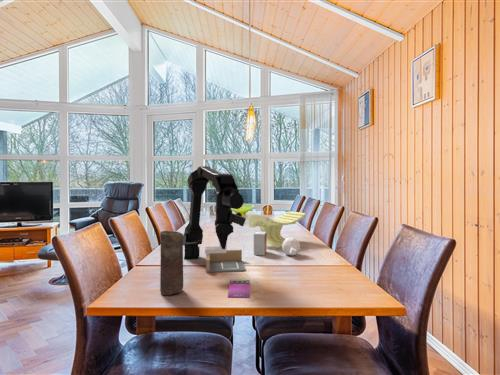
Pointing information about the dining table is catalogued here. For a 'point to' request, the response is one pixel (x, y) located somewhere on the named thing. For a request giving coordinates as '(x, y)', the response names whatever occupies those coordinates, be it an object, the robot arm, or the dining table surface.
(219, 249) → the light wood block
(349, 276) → the dining table surface
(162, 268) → the grey-brown tall block
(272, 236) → the slatted curved stool
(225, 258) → the corner tray
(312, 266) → the dining table surface
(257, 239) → the small box
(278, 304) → the dining table surface
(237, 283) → the smartphone
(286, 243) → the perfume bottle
